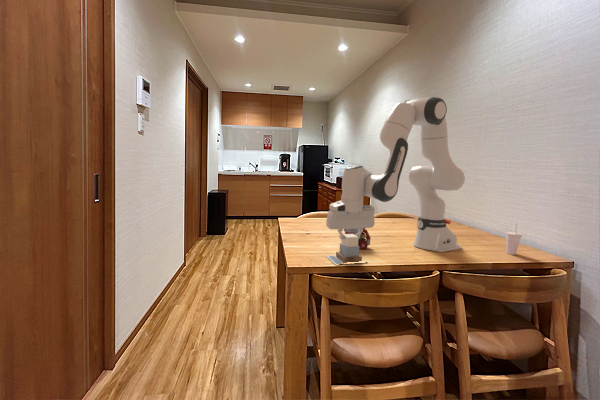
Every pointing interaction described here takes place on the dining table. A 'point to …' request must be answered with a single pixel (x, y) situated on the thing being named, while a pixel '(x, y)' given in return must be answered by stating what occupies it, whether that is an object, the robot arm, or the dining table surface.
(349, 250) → the slate brick
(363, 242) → the toy fire truck
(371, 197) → the robot arm
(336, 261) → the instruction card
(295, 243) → the dining table surface
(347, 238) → the cream brick
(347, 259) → the plinth
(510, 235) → the smoothie
